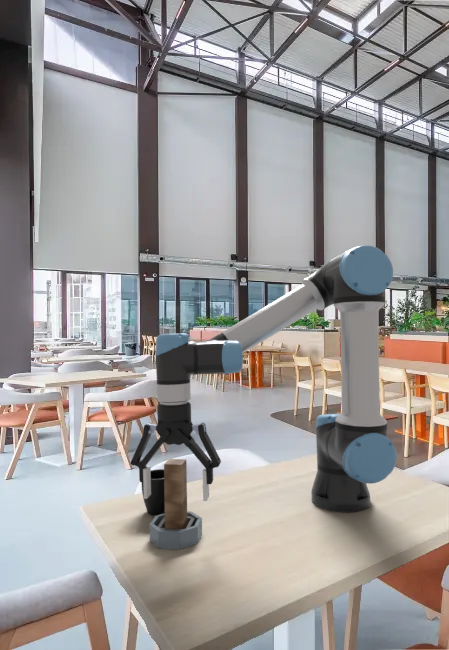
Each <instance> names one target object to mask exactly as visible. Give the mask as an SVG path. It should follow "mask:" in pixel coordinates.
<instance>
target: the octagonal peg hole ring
mask: <svg viewBox="0 0 449 650" xmlns="http://www.w3.org/2000/svg"><path fill="white" fill-rule="evenodd" d="M202 535H203V518H202V517H201V516H199V515H198V514H196V513H194V512H193V511H189V510H187V527H186V528H185V529H173V528H165V513H164V514H160V515H157V516H154V517H153V519H152V520H151V521H150V523H149V541H150V542H151V543H152V544H154V545H155V546H156V547H157V548H158V549H164V550H179V551H180V550H182V549H185V548H187V547H191V546H194V545H197V544H198V543H199V541H200V539H201V537H202Z"/></svg>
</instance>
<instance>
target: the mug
mask: <svg viewBox="0 0 449 650" xmlns="http://www.w3.org/2000/svg"><path fill="white" fill-rule="evenodd" d="M150 471H151V495H150V496H149V497H148V498H147V499H144V486H143V482H141V492H142V498H143V501H144V505H145V508H146V511H147V514H148V515H149V516H153V517H155V516H157V515H160V514H164V513H165V495H164V468H163V469H152V470H151V469H150Z"/></svg>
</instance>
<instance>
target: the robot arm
mask: <svg viewBox="0 0 449 650" xmlns="http://www.w3.org/2000/svg"><path fill="white" fill-rule="evenodd" d="M393 278H394V268H393V264H392V262H391V260H390V258H389V256H388V255H387V254H386V253H384V251H383V250H381V249H380V248H379V247H376V246H374V245H367V244H366V245H365V244H364V245H358V246H354V247H351V248H349V249H347V250H346V251H344V252H343V253H340V254H339V255H336V256H334V257H333V258H330V259H329V260H328V261H327V262H325V264H323V265H322V266H321V267H319V268H318V269H317V270H316V271H314V272H313V273H312V274H310V275H308V276H307V277H305V278H303V279H302V282H301V285H298V286H297V287H296V288H294V289H293V290H291V291H289V292H286V293H285V294H284V295H283V296H280V297H278V298H277V299H275V300H274V301H272V302H270V303H268V304H267V305H266V306H264V307H262V308H261V309H259V310H257V311H256V312H254V313H252V314H250V315H249V316H246V317H245V318H244V319H242V320H240V321H239V322H237V323H235V324H233V325H232V326H230V327H228V328H227V329H225V330H223V331H222V332H220V333H219V334H217V335H215V336H213V337H211V338H210V339H207V340H205V341H192V340H191V339H190V336H189V334H188V333H185V332H184V333H161V334H158V336H157V337H156V339H155V340H156V342H155V367H156V368H155V369H156V401H157V402H158V404H157V407H156V409H157V410H156V412H157V413H156V414H157V415H156V416H157V424H155V423H154V424H153V423H152V422H148V423H145V424H144V426H143V433H142V435H141V438H140V441H139V443H138V445H137V447H136V449H135V451H134V454H133V456H132V458H131V460H130V464H131V466H133V467H134V466H135V467H137V468H138V473H139V479H138V480H139V482H140V483H142V482H143V486H144V499H147V498H148V497H149V496H150V495H151V471H150V470H151V465H148V463H149V462H150V461H151V460H152V458H153V457H154V456H155V454H156V453H157V452H158V451H159V450H160V448H161V447H162V446H163V445H164V443H165V444H166V445H167V446H168V445H169V446H171V445H177V446H180V445H184V446H185V447H186V448H188V449H189V451H190V452H191V453H193V454H194V456H195V457H196V459H197V460H198V461H199V462H200V463H201V465H202V466H203V467H204V468H203V470H202V494H203V495H202V498H203V501H204V502H207V501H208V499H209V498H210V485H212V484H213V481H214V469H215V468H219V466H220V465H221V463H222V460H221V458H220V456H219V454H218V452H217V451H216V448H215V446H214V444H213V442H212V441H211V438H210V436H209V434H208V432H207V427H206V423H205V422H201V423H199V424H198V423H197V424H193V422H192V403H191V402H190V400H191V398H192V397H191V394H192V393H191V376H192V375H193V376H195V375H196V376H197V375H222V374H223V375H224V374H225V375H230V374H237V373H240V372H241V371H242V369H243V363H244V357H243V356H244V355H243V354H244V353H246V352H248V351H249V350H251V349H253V348H254V347H256V346H258V345H260V343H263V342H264V341H266V340H268V339H270V338H271V337H272V336H274V335H276V334H277V333H280V332H281V331H283V330H284V329H286V328H287V327H289V326H291V325H292V324H294V323H296V322H297V321H299V320H301V319H302V318H304V317H306V316H307V315H309V314H311V313H313V312H314V311H316V310H317V311H323V310H325V309H326V308H328V307H330V306H333V307H335V308H336V309H337V310H338V312H339V313H340V314H339V317H340V318H339V321H340V322H339V323H340V325H339V326H340V367H341V368H340V369H341V370H340V371H341V372H340V374H341V377H340V378H341V379H340V380H341V382H340V383H341V386H340V387H341V388H340V389H341V390H340V391H341V412H340V413H327V414H320V415H318V416H317V417H316V421H315V423H316V424H315V432H316V434H315V435H316V436H315V437H316V439H315V440H316V461H317V462H316V463H317V464H316V465H317V467H316V469H317V470H316V475H315V477H314V479H313V480H314V481H313V483H312V484H313V485H312V487H311V494H310V495H311V502H312V503H313V504H314V505H316V506H317V507H319V508H321V509H324V510H327V511H332V512H338V513H340V512H341V513H351V512H352V513H353V512H355V513H356V512H360V511H363V510H366V509H368V508H369V507H370V506H371V494H370V493H371V492H370V490H369V487H368V485H367V484H369V485H370V484H376V483H380V482H382V481H383V480H385V479H387V477H388V476H389V475H391V473H392V472H393V471H394V468H395V467H396V465H397V458H398V457H397V456H398V455H397V448H396V447H395V445H394V444H393V441H391V439H390V438H389V437H388V421H387V419H385V417H383V415H382V414H381V409H380V408H381V405H380V400H381V399H380V398H381V397H380V361H379V359H380V355H379V354H380V352H379V351H380V350H379V347H380V346H379V312H380V310H381V308H382V307H383V306H385V305H386V304H385V303H386V302H385V301H386V299H385V295H386V294H385V291H386V290H387V289H388V288H389V286H390V285H391V284H392V280H393ZM155 431H156V433H157V434H158V436H159V438H158V439H157V440H156V441H155V443H154V444H153V445H152V447H150V450H149V451H147V453H146V454H145V456H144V457H143V455H144V454H143V453H144V452H145V449H146V448H147V445H148V443H149V440H150V438H151V436H152V435H153V433H155ZM193 432H195V434H196V435H198V436H199V440H200V442H201V443H202V445H203V447H204V449H205V450H206V453H207V454H206V453H205V452H204V451H203V449H202V448H201V447H200V446H199V444H198V443H197V442H196V441H195V438H194V437H193V436H192V435H191V434H192V433H193ZM142 457H143V458H142ZM144 499H143V500H144Z"/></svg>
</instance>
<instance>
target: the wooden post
mask: <svg viewBox="0 0 449 650" xmlns="http://www.w3.org/2000/svg"><path fill="white" fill-rule="evenodd" d="M163 469H164V495H165V528H173V529H185V528H186V527H187V511H188V484H187V483H188V481H187V479H188V478H187V475H188V471H187V459H183V458H182V459H181V458H169V459H167V461H166V462H165V463H164V464H163Z"/></svg>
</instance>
